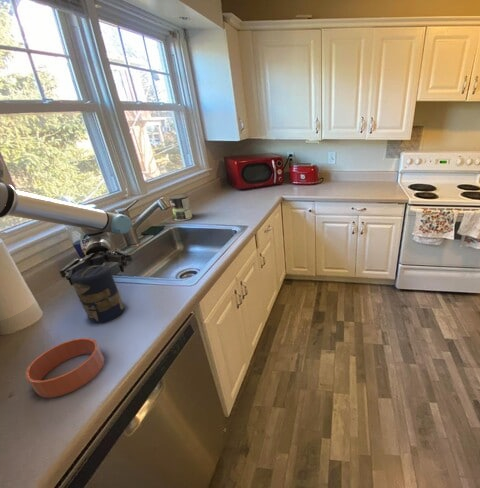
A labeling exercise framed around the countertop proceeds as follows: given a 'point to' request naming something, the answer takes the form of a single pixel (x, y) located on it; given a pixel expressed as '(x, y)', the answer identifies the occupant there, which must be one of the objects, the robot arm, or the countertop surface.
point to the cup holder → (71, 378)
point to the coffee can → (180, 207)
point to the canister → (98, 293)
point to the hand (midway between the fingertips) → (97, 274)
